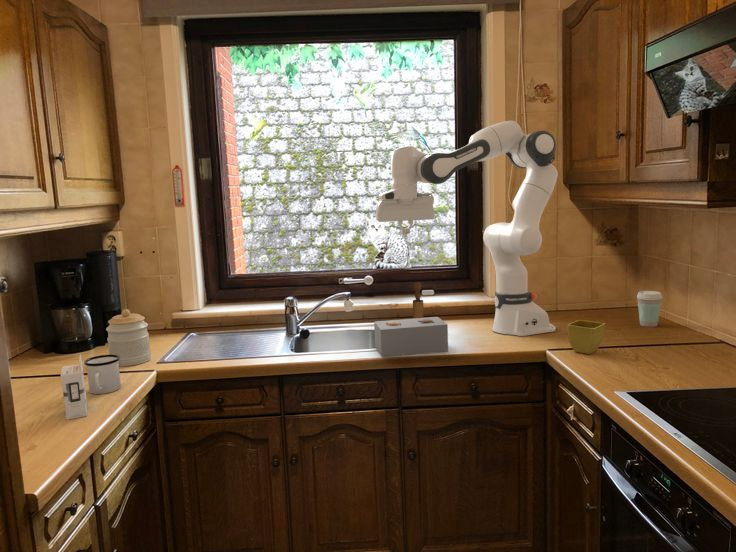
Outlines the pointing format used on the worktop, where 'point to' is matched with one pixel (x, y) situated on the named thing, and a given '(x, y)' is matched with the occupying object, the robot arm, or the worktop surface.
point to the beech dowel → (394, 324)
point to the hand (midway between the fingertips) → (405, 233)
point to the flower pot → (585, 335)
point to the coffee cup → (649, 307)
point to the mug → (103, 374)
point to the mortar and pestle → (417, 302)
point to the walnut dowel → (425, 321)
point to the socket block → (411, 337)
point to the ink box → (74, 391)
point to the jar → (129, 338)
